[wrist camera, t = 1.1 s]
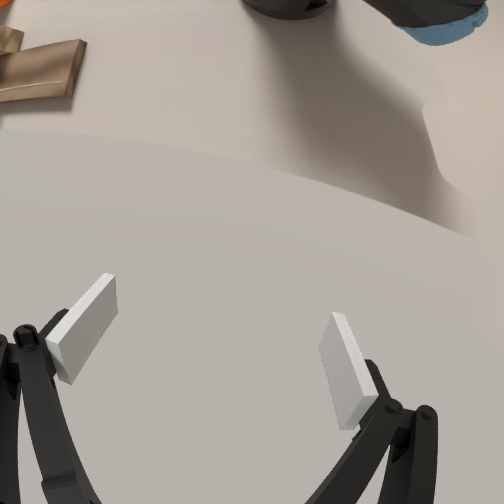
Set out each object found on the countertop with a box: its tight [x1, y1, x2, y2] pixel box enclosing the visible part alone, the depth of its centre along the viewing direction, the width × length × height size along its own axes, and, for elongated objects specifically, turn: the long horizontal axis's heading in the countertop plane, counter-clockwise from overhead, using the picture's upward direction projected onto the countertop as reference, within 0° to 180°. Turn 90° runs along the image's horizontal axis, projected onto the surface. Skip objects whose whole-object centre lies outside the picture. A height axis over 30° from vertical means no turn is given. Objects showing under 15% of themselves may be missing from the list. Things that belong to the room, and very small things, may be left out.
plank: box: [0, 39, 86, 103], centre depth 30 cm, size 10×28×2 cm, turn 77°
